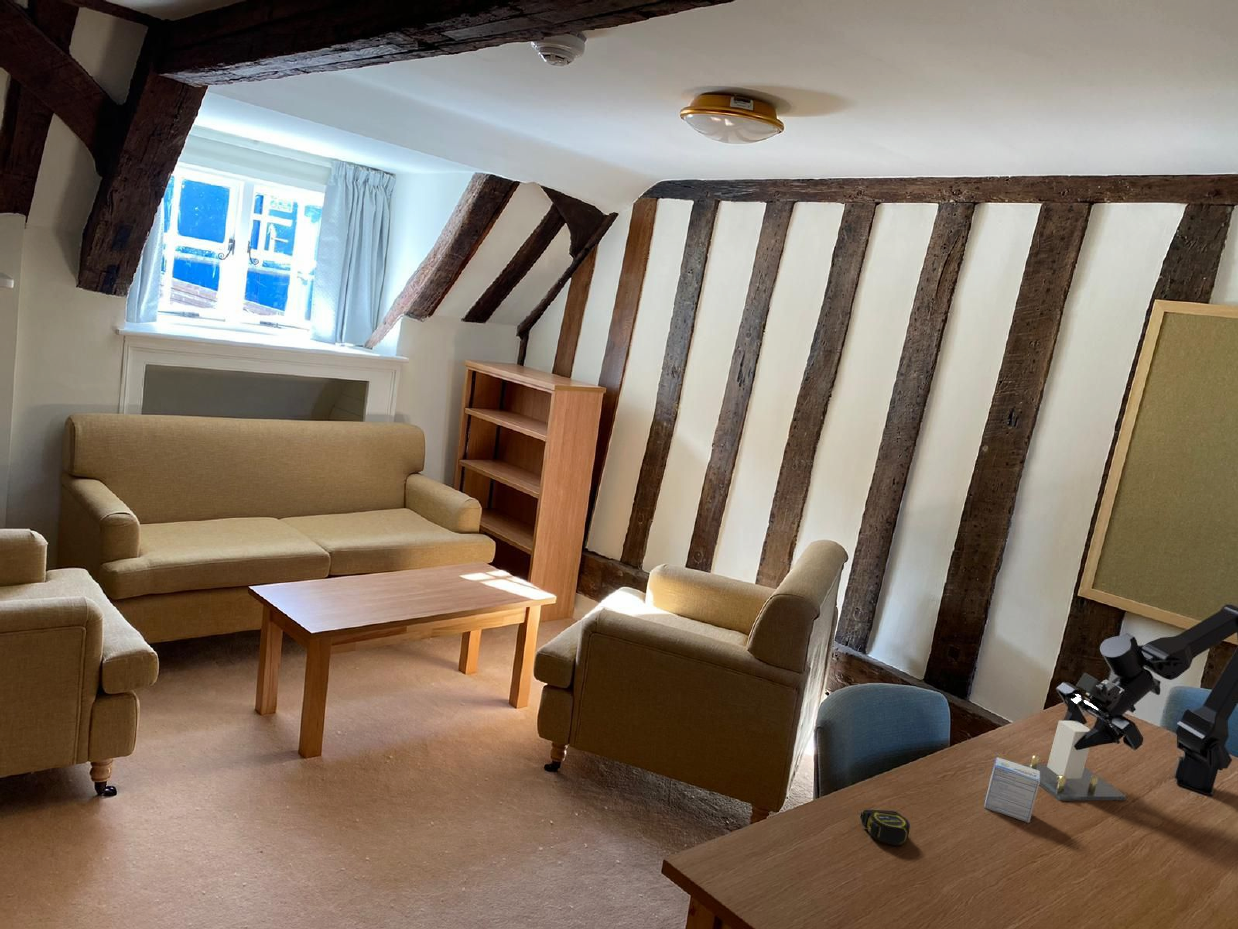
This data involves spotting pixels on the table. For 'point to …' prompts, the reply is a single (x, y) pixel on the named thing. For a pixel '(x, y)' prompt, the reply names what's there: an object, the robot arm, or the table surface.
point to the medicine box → (1012, 789)
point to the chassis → (1075, 785)
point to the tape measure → (886, 826)
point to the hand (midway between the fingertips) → (1066, 742)
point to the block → (1068, 750)
